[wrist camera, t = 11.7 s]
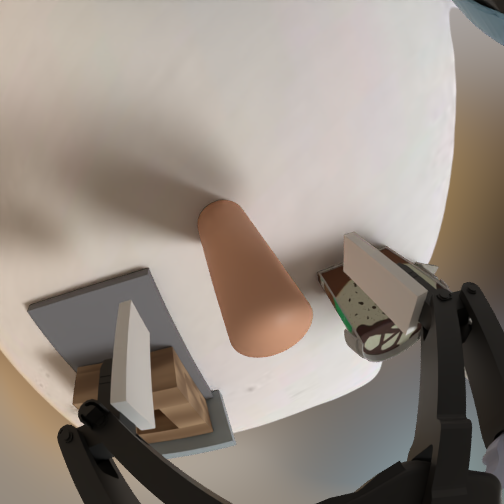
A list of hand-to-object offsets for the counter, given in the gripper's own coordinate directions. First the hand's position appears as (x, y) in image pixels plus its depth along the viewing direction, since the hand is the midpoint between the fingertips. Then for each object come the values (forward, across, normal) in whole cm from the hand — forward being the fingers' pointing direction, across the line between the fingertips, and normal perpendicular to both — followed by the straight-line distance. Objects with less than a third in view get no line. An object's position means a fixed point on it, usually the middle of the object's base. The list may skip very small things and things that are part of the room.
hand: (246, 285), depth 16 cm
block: (+7, -14, -16) cm, 22 cm away
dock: (+8, -14, -12) cm, 20 cm away
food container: (+8, +13, -10) cm, 19 cm away
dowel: (+8, 0, 0) cm, 8 cm away
